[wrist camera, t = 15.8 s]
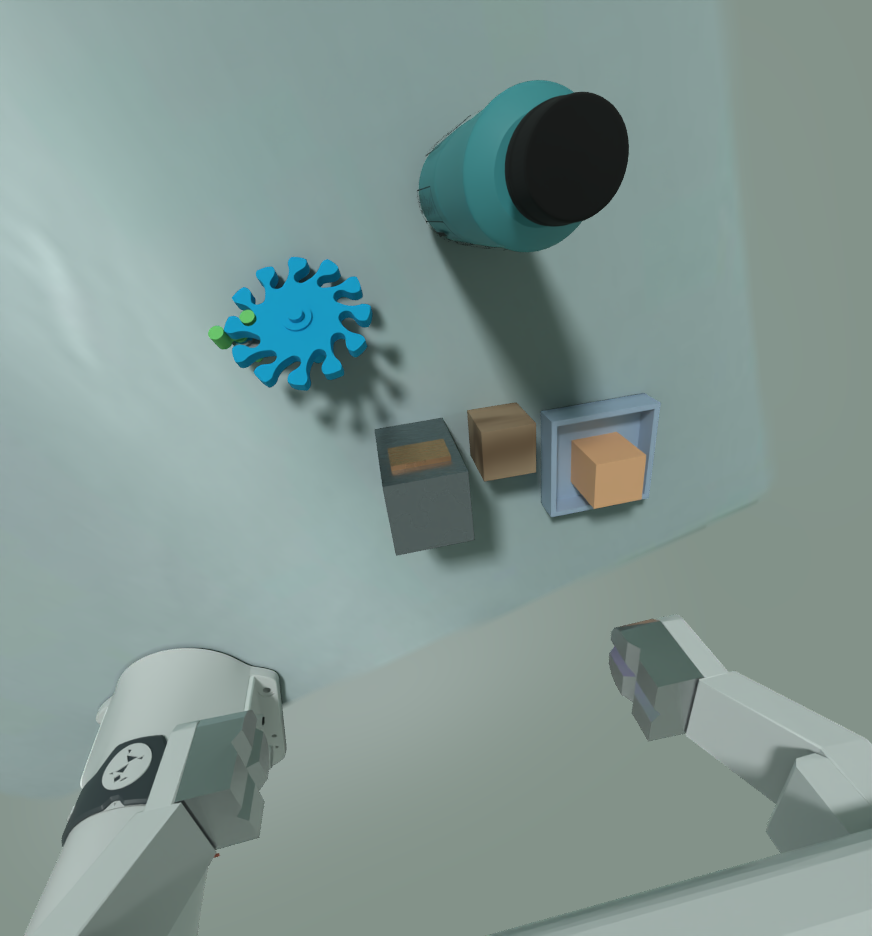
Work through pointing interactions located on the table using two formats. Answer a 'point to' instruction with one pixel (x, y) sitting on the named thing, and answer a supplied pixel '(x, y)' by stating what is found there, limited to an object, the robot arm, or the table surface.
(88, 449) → the table surface
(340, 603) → the table surface
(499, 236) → the beverage bottle
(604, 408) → the tray
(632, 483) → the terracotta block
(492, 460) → the walnut block
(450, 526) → the box
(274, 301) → the gear
